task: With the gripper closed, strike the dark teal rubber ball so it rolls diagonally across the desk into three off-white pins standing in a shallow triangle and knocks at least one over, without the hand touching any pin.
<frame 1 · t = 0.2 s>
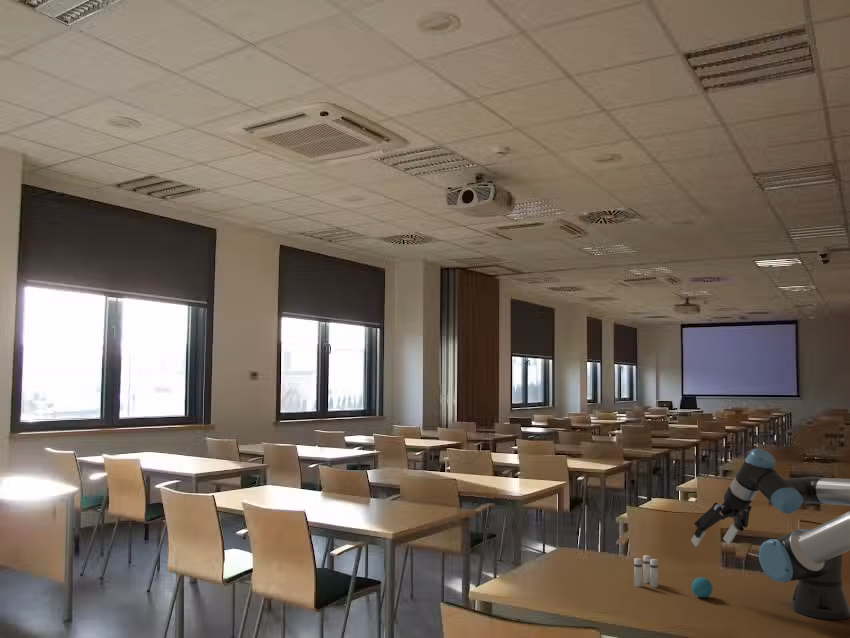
hand: (710, 542, 243), 15 cm above the table, fingers open, 13 cm apart
right rear pin: (647, 582, 250), on the table
front pin: (654, 586, 245), on the table
ball: (702, 587, 235), on the table
left rear pin: (638, 585, 246), on the table
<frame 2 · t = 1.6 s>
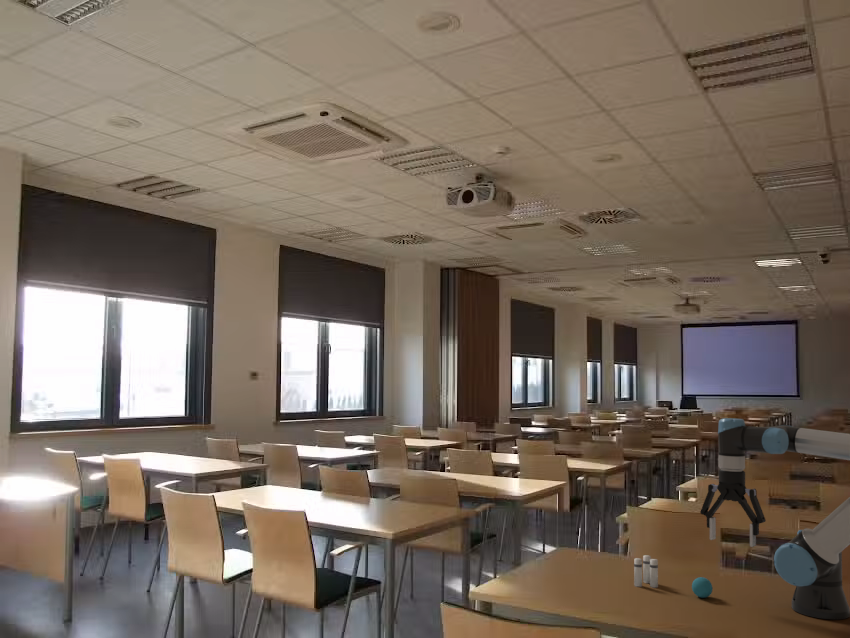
hand: (732, 542, 229), 18 cm above the table, fingers open, 11 cm apart
nothing on the table moved.
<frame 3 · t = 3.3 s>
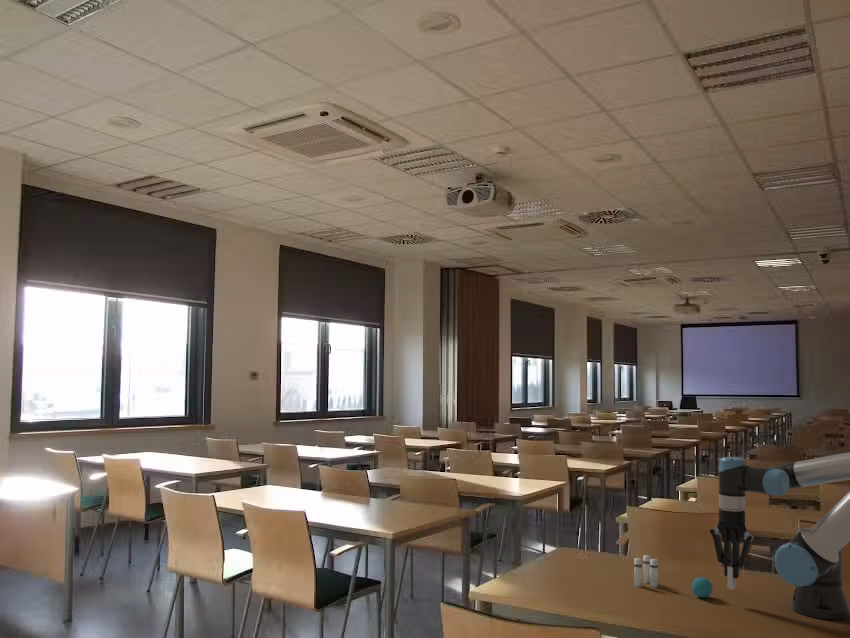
hand: (731, 588, 229), 5 cm above the table, fingers closed
nothing on the table moved.
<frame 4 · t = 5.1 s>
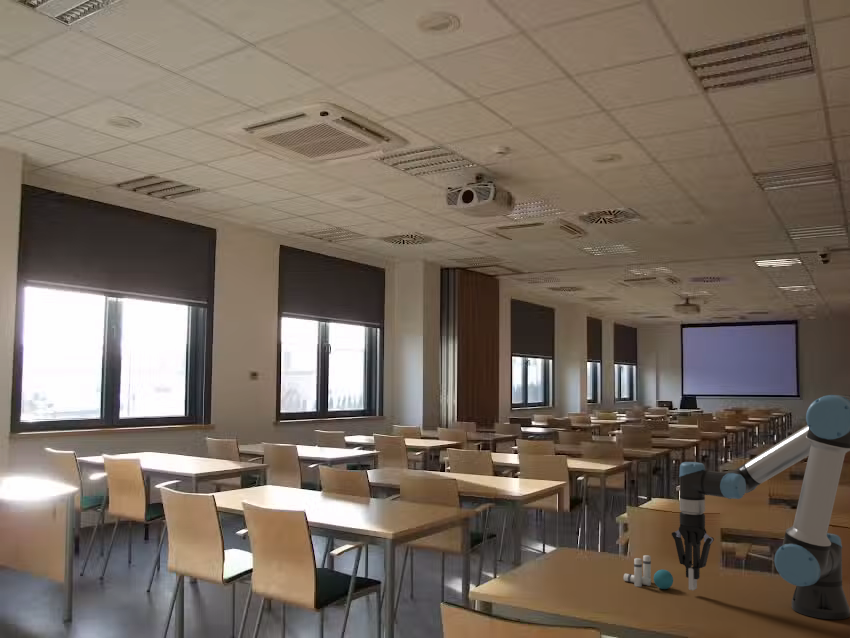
hand: (692, 588, 237), 2 cm above the table, fingers closed
front pin: (649, 582, 246), point 1 cm above the table, tilted 90°
ball: (663, 579, 243), on the table
everything else where it was.
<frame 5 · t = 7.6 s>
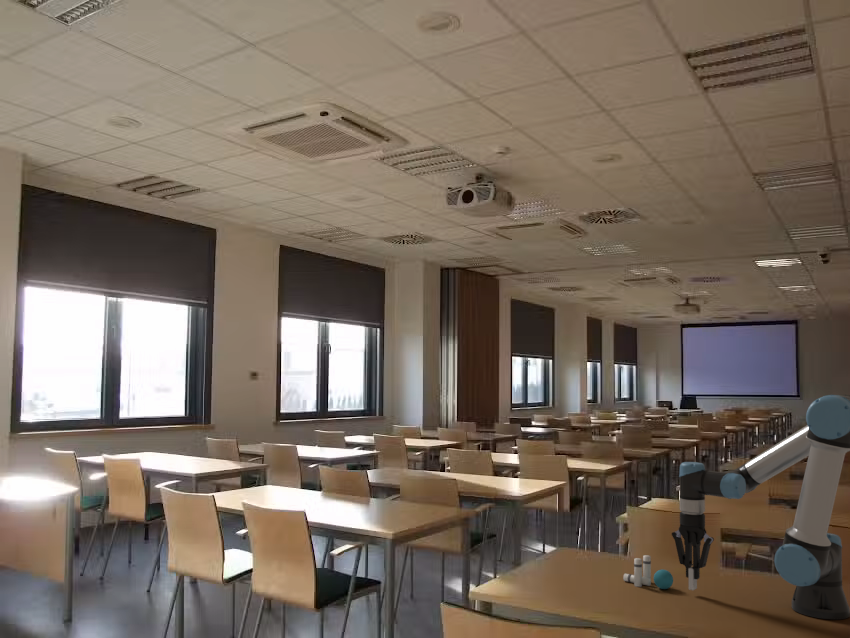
hand: (692, 588, 237), 2 cm above the table, fingers closed
front pin: (649, 582, 246), point 1 cm above the table, tilted 90°, touching left rear pin
left rear pin: (638, 585, 246), on the table, touching front pin
everything else where it was.
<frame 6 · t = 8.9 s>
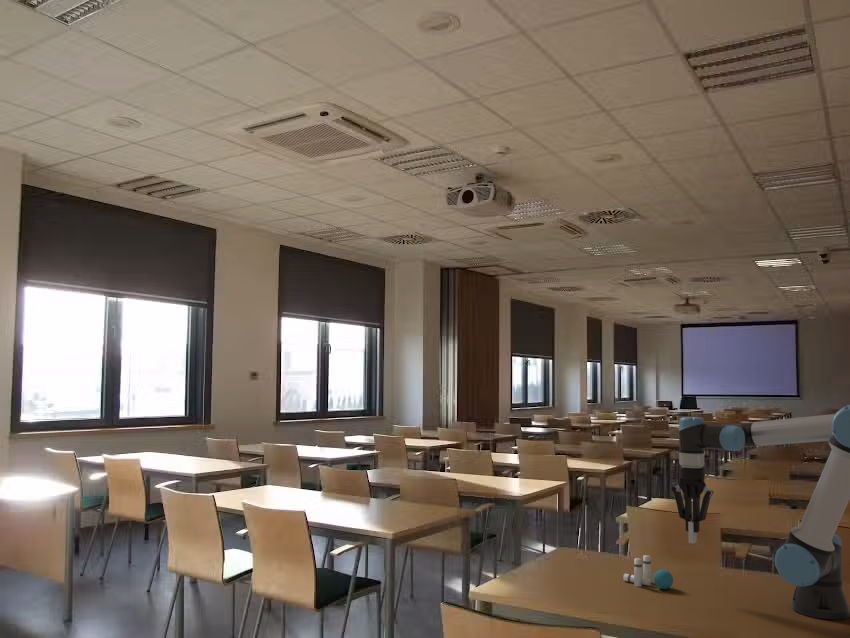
hand: (692, 542, 238), 16 cm above the table, fingers closed
front pin: (649, 582, 246), point 1 cm above the table, tilted 90°
left rear pin: (638, 585, 246), on the table
everything else where it was.
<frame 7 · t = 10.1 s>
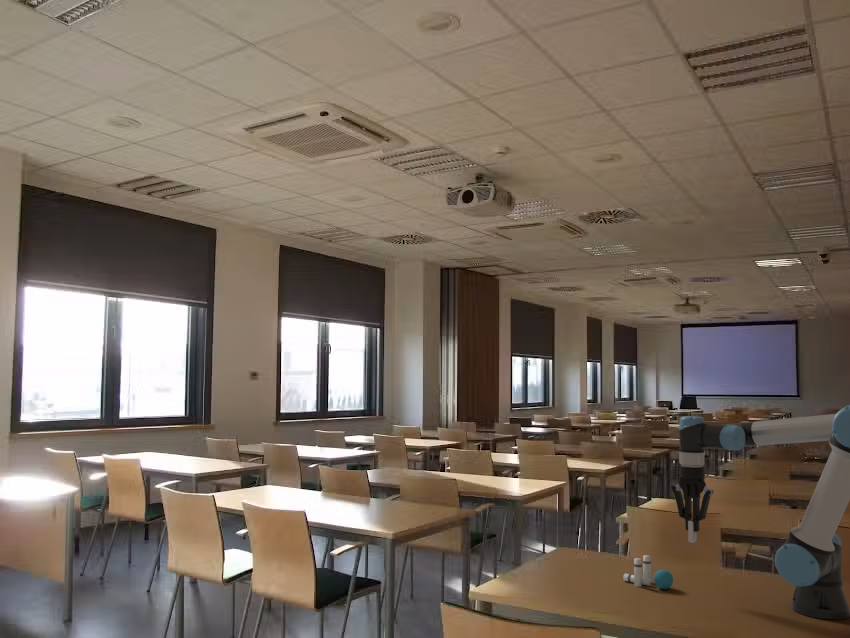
hand: (692, 541, 238), 16 cm above the table, fingers closed
nothing on the table moved.
at the end: 1 of 3 knocked over (down: front pin; still standing: left rear pin, right rear pin); front pin never touched the robot; ball moved 12.7 cm from its start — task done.
